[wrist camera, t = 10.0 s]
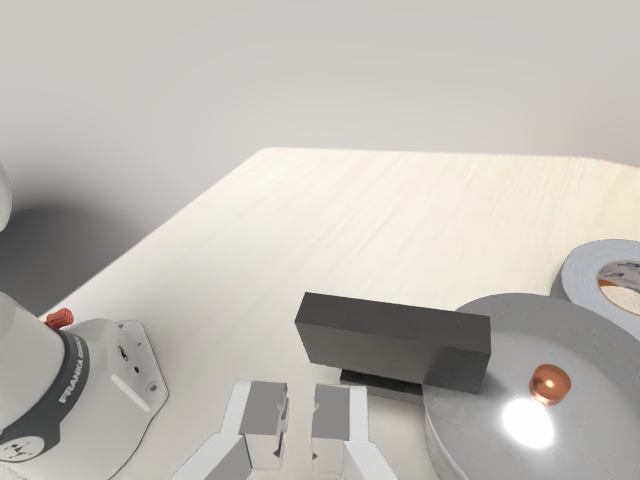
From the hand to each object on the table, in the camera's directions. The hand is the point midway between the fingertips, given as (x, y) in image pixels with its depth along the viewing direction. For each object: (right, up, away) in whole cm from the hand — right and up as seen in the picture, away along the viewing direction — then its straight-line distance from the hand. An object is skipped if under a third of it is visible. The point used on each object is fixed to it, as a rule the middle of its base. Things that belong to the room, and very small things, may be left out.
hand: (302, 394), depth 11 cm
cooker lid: (+14, -8, +20) cm, 26 cm away
